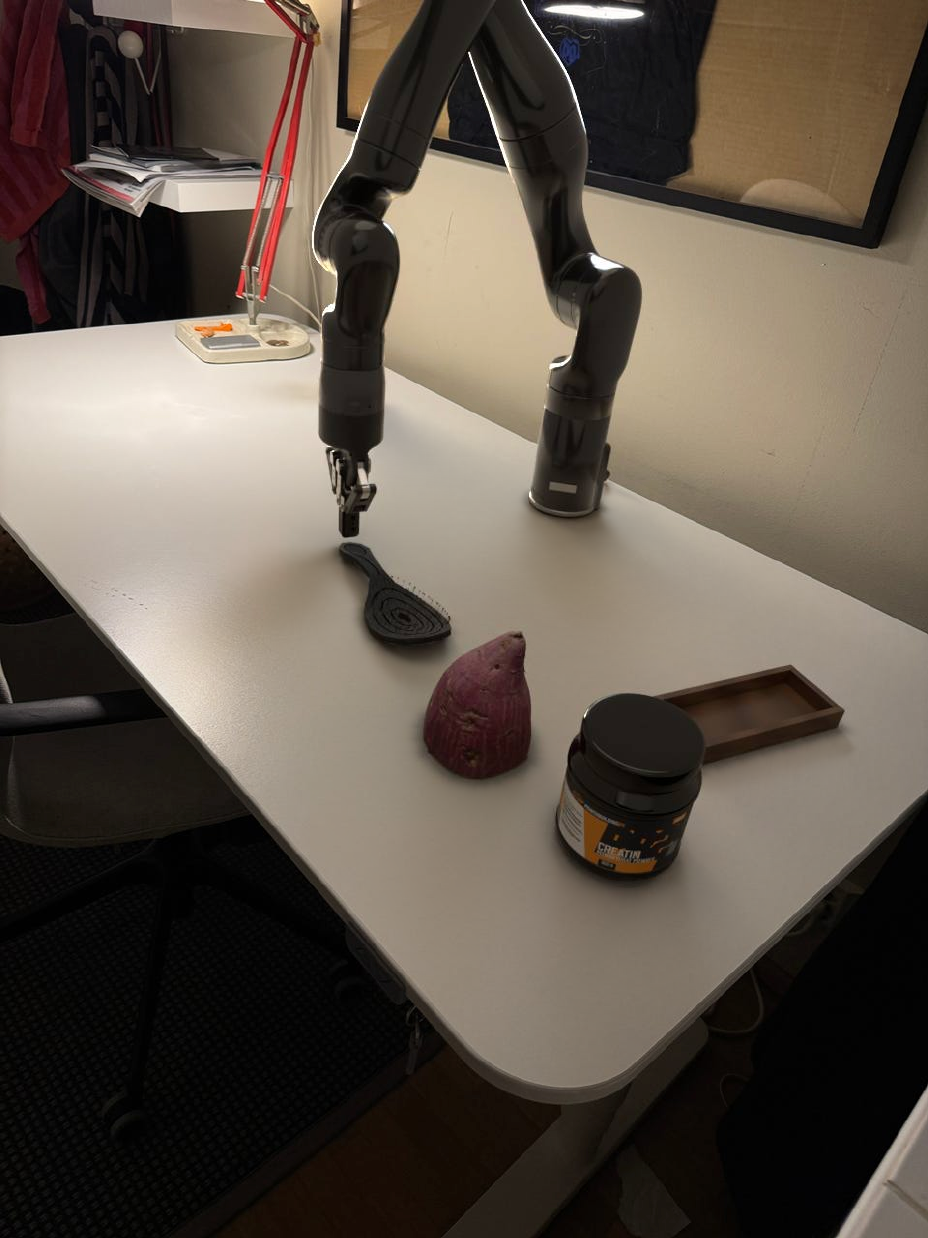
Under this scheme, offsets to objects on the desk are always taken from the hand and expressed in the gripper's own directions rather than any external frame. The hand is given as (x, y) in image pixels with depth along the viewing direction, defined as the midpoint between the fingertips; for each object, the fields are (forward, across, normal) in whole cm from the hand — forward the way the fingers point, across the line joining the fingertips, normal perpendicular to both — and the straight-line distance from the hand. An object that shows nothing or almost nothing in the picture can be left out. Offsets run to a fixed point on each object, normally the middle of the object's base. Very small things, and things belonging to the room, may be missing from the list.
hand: (348, 534), depth 110 cm
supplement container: (+2, -53, -6) cm, 54 cm away
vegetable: (+2, -38, 0) cm, 38 cm away
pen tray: (+2, -44, -27) cm, 52 cm away
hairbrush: (+2, -13, 0) cm, 13 cm away
